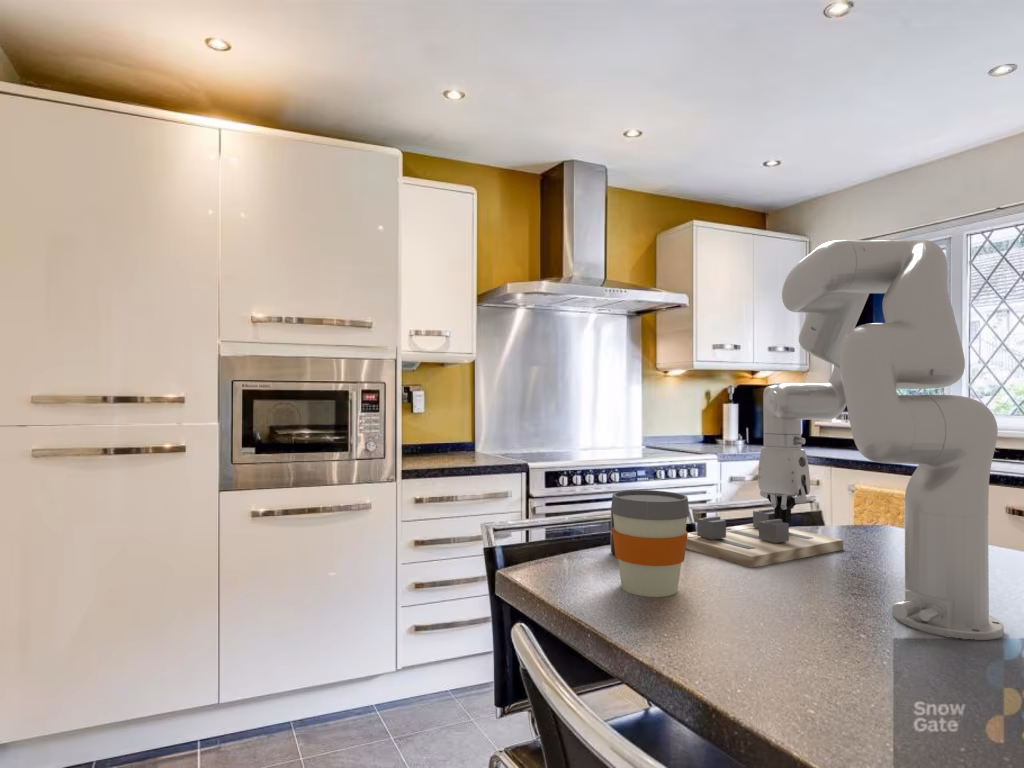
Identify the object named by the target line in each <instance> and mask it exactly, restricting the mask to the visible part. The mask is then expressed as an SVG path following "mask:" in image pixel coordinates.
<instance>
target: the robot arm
mask: <svg viewBox="0 0 1024 768" xmlns="http://www.w3.org/2000/svg"><path fill="white" fill-rule="evenodd" d="M948 271H949V269H948V261H947V258H946V254H945V252H944V251H943V249H942V248H941V246H940V245H939V244H937V243H936V242H934V241H931V240H926V239H910V240H909V239H908V240H907V239H902V240H899V239H898V240H893V239H892V240H891V239H890V240H889V239H887V240H884V239H877V240H874V239H872V240H868V239H867V240H858V239H857V240H855V239H854V240H853V239H842V240H841V239H837V240H832V241H828V242H825V243H822V244H821V245H819V246H817V247H816V248H815V249H814V250H812V251H811V252H810V253H809V254H808V255H806V256H805V257H804V258H803V259H801V260H799V262H798V263H797V264H795V266H794V267H793V268H792V269H791V270H790V272H789V273H788V275H787V276H786V278H785V281H784V282H783V286H782V291H781V298H782V303H783V306H784V307H785V308H786V309H787V310H788V311H789V312H792V313H807V314H806V317H805V318H804V322H803V324H802V327H801V330H800V332H799V335H798V342H799V345H800V346H801V348H802V349H804V351H806V352H807V353H808V354H810V355H812V356H813V357H816V358H818V359H820V360H823V361H825V362H827V363H829V364H831V365H833V368H832V372H831V375H830V377H829V379H828V380H827V382H826V383H824V382H822V383H819V382H818V383H817V382H815V383H814V382H811V383H809V382H806V383H804V382H802V383H801V382H800V383H797V382H796V383H795V382H791V383H790V382H789V383H788V382H787V383H779V384H777V385H769V386H766V387H765V388H764V390H763V399H762V400H763V401H762V402H763V404H762V405H763V408H762V409H763V411H762V412H763V447H761V448H760V454H759V461H758V468H757V469H758V470H757V472H758V473H757V483H758V484H757V485H758V489H759V490H760V492H759V496H761V497H763V498H765V499H767V500H768V502H769V503H770V504H771V507H772V509H774V519H782V522H784V523H789V528H791V526H792V510H793V509H795V508H794V507H795V506H796V505H797V504H799V503H806V502H807V500H808V499H807V495H809V494H810V493H811V478H810V477H811V475H810V468H809V460H808V456H807V453H806V449H804V448H802V445H805V444H806V438H805V437H802V421H803V420H805V421H806V420H807V421H808V420H812V421H813V420H818V421H819V420H820V421H821V420H822V421H823V420H825V421H828V420H835V419H836V418H838V417H839V416H841V414H842V413H843V412H844V410H845V409H847V414H848V420H849V425H850V430H851V435H852V439H853V441H854V444H855V446H856V448H857V450H858V451H859V453H860V454H861V455H862V456H863V457H864V458H865V459H868V460H869V461H871V462H874V463H880V464H896V465H897V464H901V465H902V464H903V465H904V464H908V465H909V464H913V465H914V464H916V465H917V464H918V465H917V467H916V469H915V470H914V472H913V473H912V474H911V477H910V479H909V481H908V483H907V485H906V488H905V492H904V493H905V494H904V600H903V601H897V602H896V603H895V604H893V605H892V608H891V612H892V613H891V614H892V616H893V617H894V618H895V619H896V620H897V621H898V622H900V623H902V624H904V625H905V626H908V627H910V628H912V629H916V630H919V631H922V632H925V633H929V634H931V635H932V634H933V635H936V636H940V635H941V637H946V636H949V637H948V638H951V637H955V638H954V639H958V638H962V639H961V640H967V639H975V640H974V641H988V640H989V641H991V640H996V639H999V638H1001V637H1003V635H1004V634H1005V626H1004V624H1003V623H1002V622H1001V621H1000V620H999V619H997V618H996V617H994V616H992V615H990V596H989V595H990V594H989V593H990V591H989V589H990V587H989V585H990V584H989V583H990V581H989V580H990V579H989V575H990V574H989V573H990V572H989V568H990V566H989V560H990V559H989V495H990V494H989V493H990V491H989V489H990V475H991V467H992V463H993V459H994V454H995V451H996V446H997V443H998V433H999V431H998V430H999V429H998V423H997V420H996V417H995V415H994V413H993V412H992V411H991V409H990V408H989V407H988V406H986V405H985V404H984V403H983V402H981V401H979V400H976V399H975V398H971V397H968V396H963V395H955V394H954V395H953V394H897V390H902V389H903V390H930V389H933V390H934V389H941V388H946V387H949V386H952V385H954V384H956V383H957V382H959V381H960V380H961V378H962V377H963V375H964V372H965V368H966V362H965V361H966V359H965V353H964V349H963V345H962V340H961V337H960V334H959V329H958V325H957V321H956V317H955V313H954V309H953V306H952V303H951V299H950V295H949V291H948V289H949V288H948V276H949V275H948ZM870 294H884V296H883V299H882V303H881V304H882V306H881V307H882V315H883V319H884V322H874V323H873V322H872V323H871V322H869V323H865V324H861V325H858V326H857V323H858V322H859V319H860V316H861V314H862V312H863V311H864V307H865V305H866V302H867V301H868V299H869V296H870Z"/></svg>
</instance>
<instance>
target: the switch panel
mask: <svg viewBox="0 0 1024 768" xmlns="http://www.w3.org/2000/svg"><path fill="white" fill-rule="evenodd" d="M687 533H688V536H687V543H686V549H688V550H690V551H693V550H694V552H697V553H700V554H704V555H708V556H710V557H711V556H712V557H714V558H718V559H720V560H721V559H722V560H725V561H727V562H728V561H729V562H731V563H735V564H738V565H742V566H746V567H748V568H749V567H750V568H751V569H752V568H757V567H762V566H767V565H773V564H778V563H782V562H787V561H792V560H793V561H794V560H798V559H802V558H807V557H813V556H818V555H819V556H820V555H823V554H828V553H832V552H834V553H835V552H839V551H843V550H844V539H842V538H837V537H831V536H828V535H821V534H819V533H818V534H817V533H812V532H808V531H803V530H798V529H794V528H791V527H789V541H785V542H779V543H773V542H769V541H765V540H761V539H759V528H756V527H753V523H747V524H740V525H734V526H726V538H720V539H714V540H711V539H708V538H704V537H700V536H697V531H692V532H687Z"/></svg>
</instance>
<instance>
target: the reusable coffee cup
mask: <svg viewBox="0 0 1024 768" xmlns="http://www.w3.org/2000/svg"><path fill="white" fill-rule="evenodd" d="M611 512H612V513H613V519H614V527H613V528H612V532H613V540H614V549H615V556H614V557H616V559H617V560H618V567H619V577H620V584H621V585H620V586H621V588H622V590H623V591H625V592H627V593H629V594H632V595H635V596H636V595H637V596H640V597H649V598H660V597H661V598H663V597H669V596H673V595H675V594H677V593H678V591H679V583H680V574H681V567H682V563H683V562H684V561H685V557H686V549H687V548H686V543H687V536H688V533H689V532H688V531H687V530H686V529H687V523H688V517H690V507H689V498H688V496H687V495H685V494H682V493H678V492H672V491H664V490H663V491H662V490H650V489H649V490H648V489H634V490H633V489H632V490H621V491H620V490H619V491H615V492H614V493H612V499H611V505H610V513H611Z"/></svg>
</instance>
